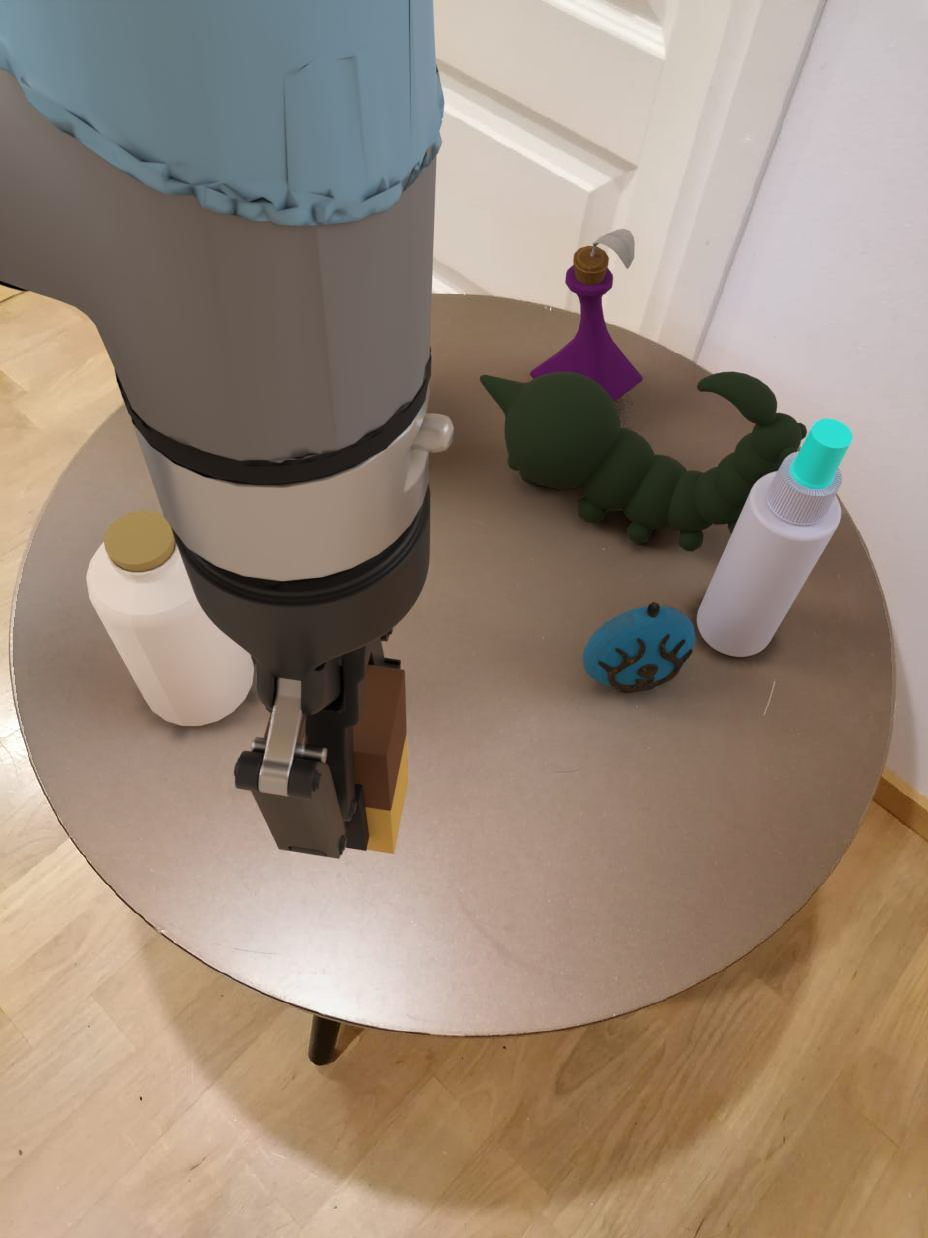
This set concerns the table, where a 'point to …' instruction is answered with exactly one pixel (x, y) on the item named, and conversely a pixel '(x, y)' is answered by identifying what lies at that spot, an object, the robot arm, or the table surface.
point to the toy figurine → (638, 453)
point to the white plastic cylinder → (164, 624)
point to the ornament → (640, 648)
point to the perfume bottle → (595, 320)
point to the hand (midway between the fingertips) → (350, 793)
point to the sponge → (381, 754)
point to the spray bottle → (775, 544)
